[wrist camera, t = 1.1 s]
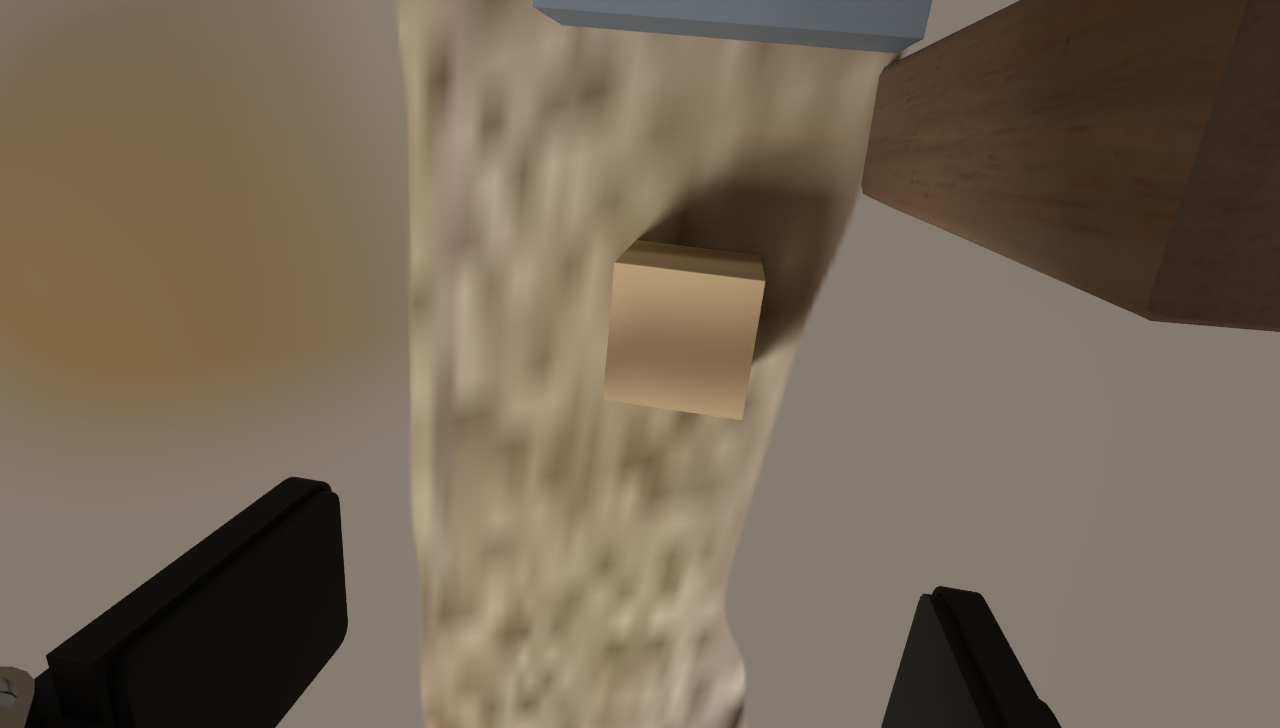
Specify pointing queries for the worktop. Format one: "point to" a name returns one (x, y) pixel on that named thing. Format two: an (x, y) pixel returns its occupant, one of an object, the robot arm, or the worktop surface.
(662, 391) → the oak cube
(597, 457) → the worktop surface
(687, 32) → the slate base block
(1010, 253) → the wooden block
